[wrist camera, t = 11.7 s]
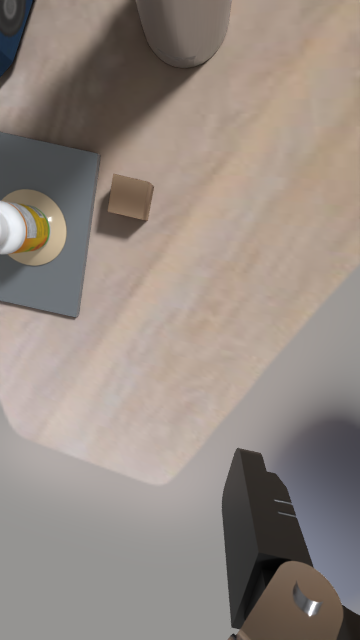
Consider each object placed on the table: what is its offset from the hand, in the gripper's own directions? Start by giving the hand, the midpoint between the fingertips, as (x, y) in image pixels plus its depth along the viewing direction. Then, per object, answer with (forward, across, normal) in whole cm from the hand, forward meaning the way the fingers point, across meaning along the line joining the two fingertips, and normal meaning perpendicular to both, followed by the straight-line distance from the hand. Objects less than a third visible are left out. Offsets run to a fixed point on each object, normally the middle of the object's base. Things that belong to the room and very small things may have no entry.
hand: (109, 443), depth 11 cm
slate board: (+33, +19, -3) cm, 38 cm away
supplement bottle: (+32, +19, -3) cm, 37 cm away
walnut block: (+33, +7, -9) cm, 35 cm away
